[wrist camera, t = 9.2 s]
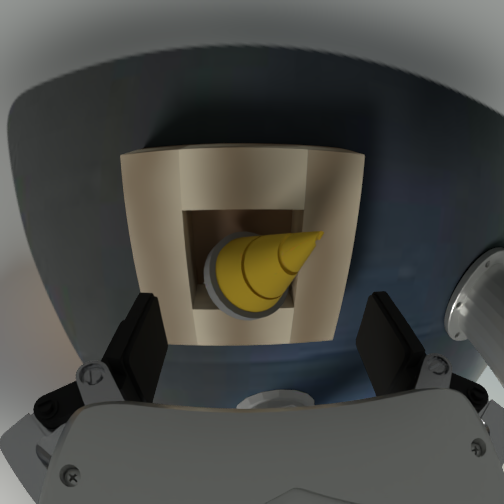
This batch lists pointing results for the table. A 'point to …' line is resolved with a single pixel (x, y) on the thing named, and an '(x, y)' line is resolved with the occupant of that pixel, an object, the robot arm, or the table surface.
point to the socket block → (241, 220)
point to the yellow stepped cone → (255, 271)
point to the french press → (277, 400)
